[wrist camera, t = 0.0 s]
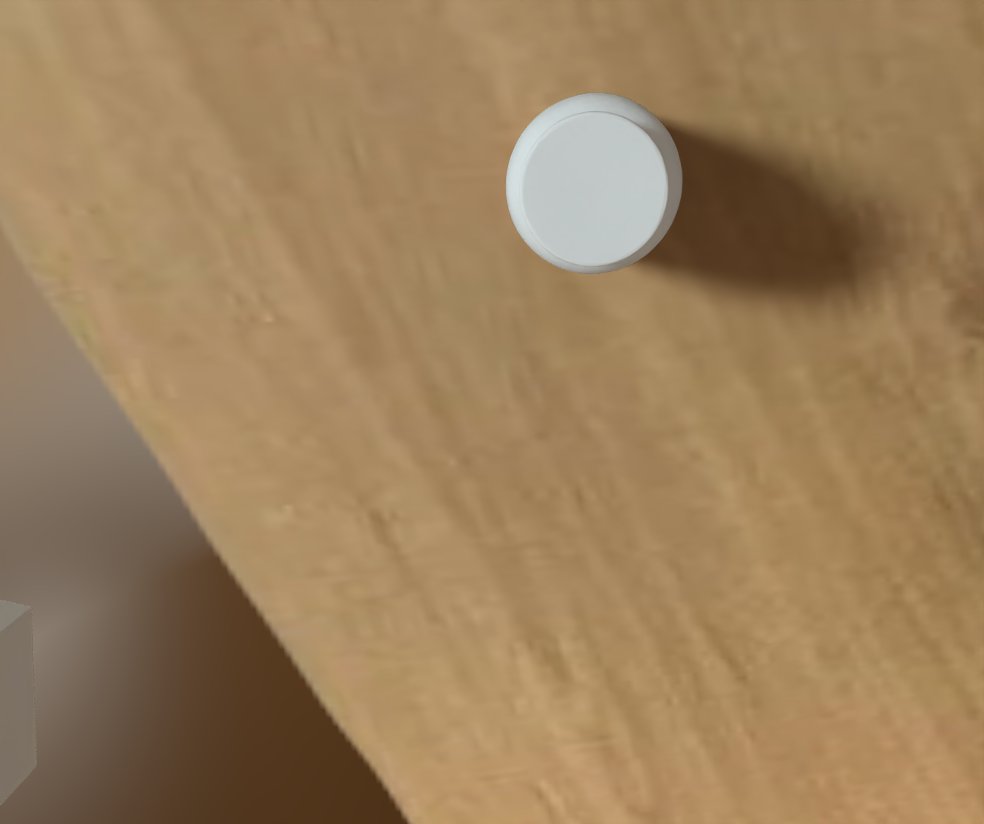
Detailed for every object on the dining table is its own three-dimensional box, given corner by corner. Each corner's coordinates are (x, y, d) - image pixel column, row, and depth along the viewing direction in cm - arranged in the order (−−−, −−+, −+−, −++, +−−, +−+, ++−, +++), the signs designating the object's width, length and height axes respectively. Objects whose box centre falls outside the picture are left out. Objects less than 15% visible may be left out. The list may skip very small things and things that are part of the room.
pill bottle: (518, 111, 34) (484, 93, 24) (662, 97, 34) (694, 72, 23) (528, 253, 36) (501, 295, 26) (664, 243, 35) (695, 282, 25)
